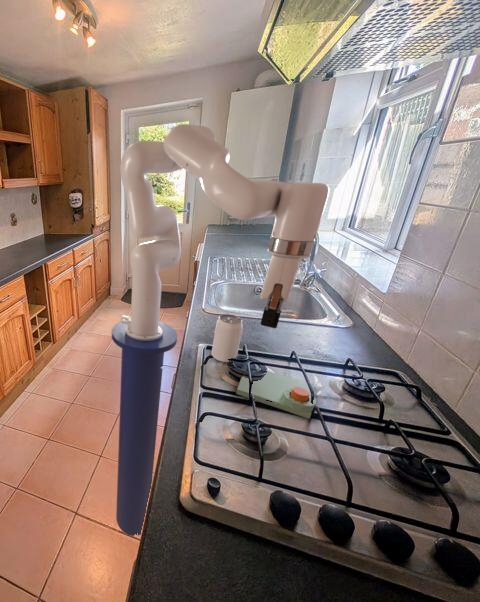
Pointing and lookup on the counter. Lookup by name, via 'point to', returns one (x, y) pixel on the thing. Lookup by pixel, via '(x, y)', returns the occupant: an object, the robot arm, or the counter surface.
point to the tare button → (300, 394)
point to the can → (227, 337)
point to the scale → (278, 393)
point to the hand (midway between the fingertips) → (268, 325)
